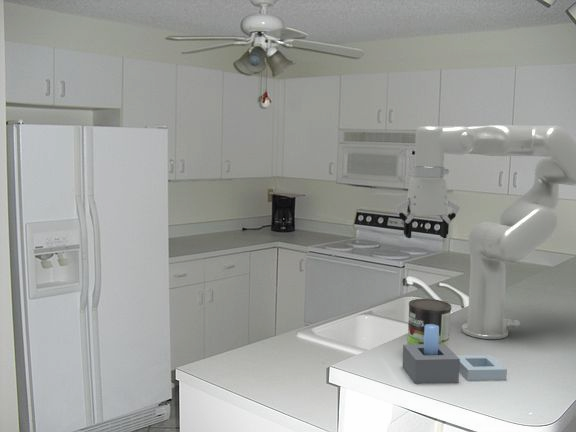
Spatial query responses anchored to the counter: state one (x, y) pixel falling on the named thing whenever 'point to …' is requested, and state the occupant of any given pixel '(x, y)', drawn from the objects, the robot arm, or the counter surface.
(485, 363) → the square frame plate
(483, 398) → the counter surface
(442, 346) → the port
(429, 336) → the plug
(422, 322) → the coffee can
